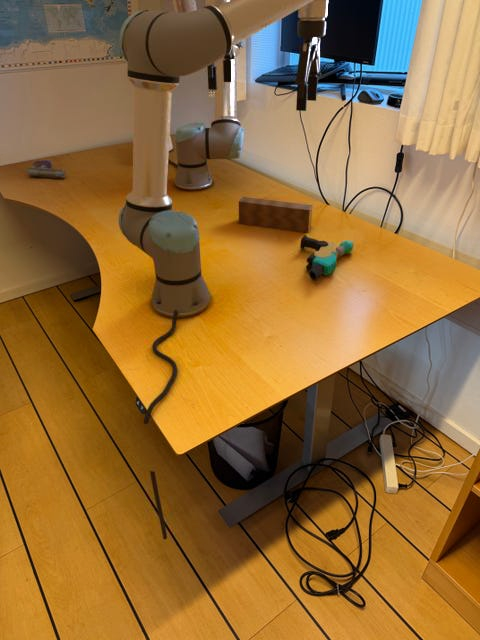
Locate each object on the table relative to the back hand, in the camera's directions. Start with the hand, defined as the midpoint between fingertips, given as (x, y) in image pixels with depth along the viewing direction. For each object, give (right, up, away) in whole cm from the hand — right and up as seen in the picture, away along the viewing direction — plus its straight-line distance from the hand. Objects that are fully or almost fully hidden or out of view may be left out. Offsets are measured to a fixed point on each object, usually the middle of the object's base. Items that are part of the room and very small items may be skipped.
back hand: (220, 85), depth 155 cm
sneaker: (-35, +2, +72) cm, 80 cm away
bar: (+18, -44, +9) cm, 48 cm away
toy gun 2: (+29, -59, -13) cm, 68 cm away
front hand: (+26, -14, -17) cm, 34 cm away
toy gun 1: (-77, -12, +54) cm, 95 cm away
